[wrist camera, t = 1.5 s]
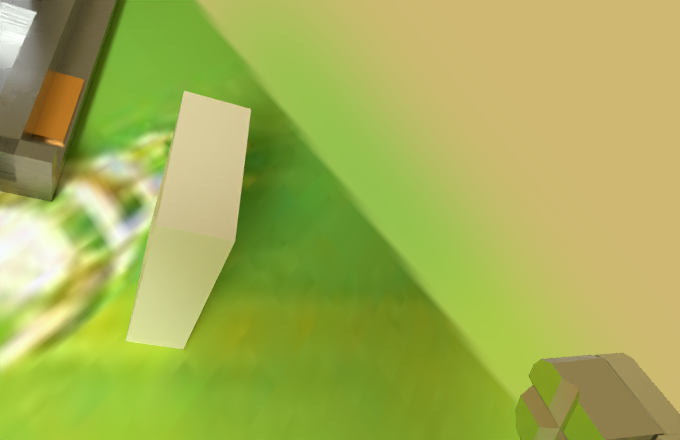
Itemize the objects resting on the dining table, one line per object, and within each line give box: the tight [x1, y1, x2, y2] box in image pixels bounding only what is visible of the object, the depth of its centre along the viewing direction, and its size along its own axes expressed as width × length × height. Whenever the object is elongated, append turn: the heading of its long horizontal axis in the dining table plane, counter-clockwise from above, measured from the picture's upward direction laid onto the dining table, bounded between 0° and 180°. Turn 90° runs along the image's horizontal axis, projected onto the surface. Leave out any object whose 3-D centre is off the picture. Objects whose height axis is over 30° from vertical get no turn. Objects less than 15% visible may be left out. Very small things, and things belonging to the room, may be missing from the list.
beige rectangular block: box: [126, 91, 251, 349], centre depth 30 cm, size 3×7×12 cm, turn 179°
